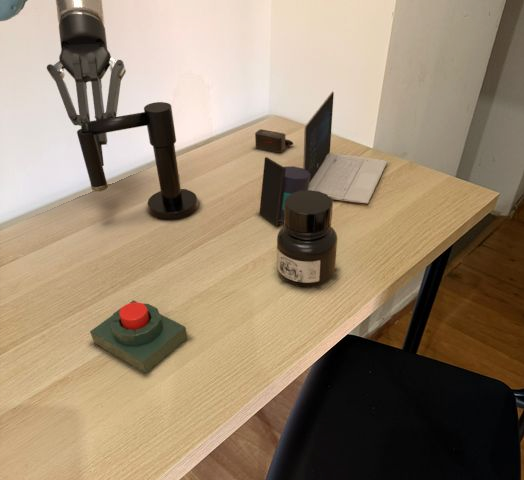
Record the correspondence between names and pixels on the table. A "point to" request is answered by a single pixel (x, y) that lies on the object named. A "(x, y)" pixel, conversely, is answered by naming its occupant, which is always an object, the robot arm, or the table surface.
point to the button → (134, 316)
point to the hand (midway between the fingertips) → (97, 163)
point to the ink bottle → (307, 240)
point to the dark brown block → (271, 141)
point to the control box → (140, 339)
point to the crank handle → (153, 117)
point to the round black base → (170, 189)
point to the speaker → (280, 188)
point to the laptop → (337, 162)
